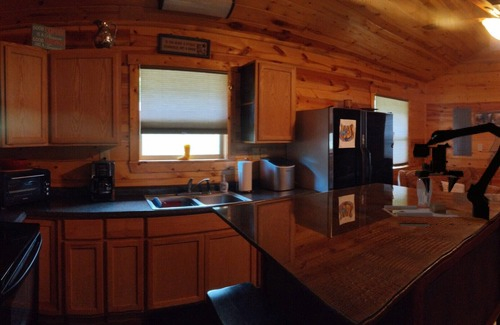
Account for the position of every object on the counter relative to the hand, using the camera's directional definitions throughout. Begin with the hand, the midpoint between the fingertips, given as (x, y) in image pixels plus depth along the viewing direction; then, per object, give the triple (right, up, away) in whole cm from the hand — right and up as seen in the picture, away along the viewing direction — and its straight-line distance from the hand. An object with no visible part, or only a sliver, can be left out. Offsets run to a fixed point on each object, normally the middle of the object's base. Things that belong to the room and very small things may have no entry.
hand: (438, 192), depth 146 cm
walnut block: (0, -9, +1) cm, 9 cm away
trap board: (-8, -11, +1) cm, 13 cm away
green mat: (-19, -12, -12) cm, 25 cm away
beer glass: (+2, -10, +16) cm, 19 cm away
